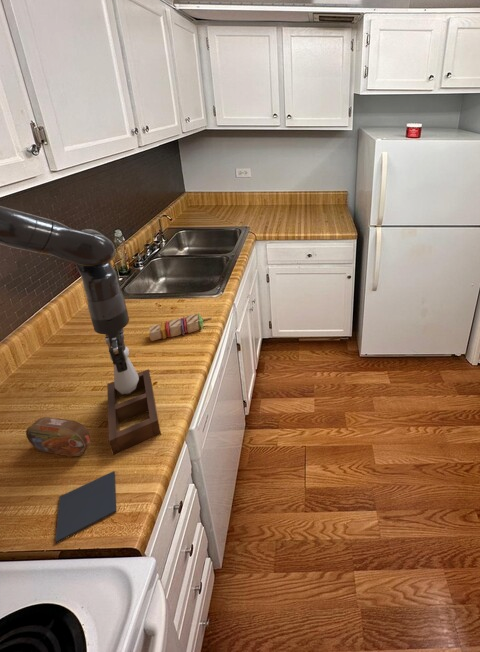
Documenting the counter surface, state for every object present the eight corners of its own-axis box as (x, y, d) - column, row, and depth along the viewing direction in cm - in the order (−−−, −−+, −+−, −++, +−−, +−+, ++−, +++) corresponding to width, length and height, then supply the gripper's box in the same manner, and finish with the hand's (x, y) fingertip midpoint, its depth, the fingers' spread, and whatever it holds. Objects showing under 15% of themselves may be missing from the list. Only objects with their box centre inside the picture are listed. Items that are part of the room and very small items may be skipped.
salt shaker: (128, 377, 93) (119, 340, 88) (145, 382, 91) (136, 344, 87) (110, 393, 88) (100, 354, 83) (128, 399, 86) (117, 360, 81)
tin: (30, 450, 79) (19, 425, 76) (42, 437, 82) (32, 413, 79) (87, 459, 77) (78, 434, 74) (97, 446, 80) (88, 421, 77)
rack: (113, 455, 78) (108, 441, 76) (111, 397, 93) (107, 383, 91) (160, 434, 83) (157, 420, 81) (151, 382, 98) (148, 369, 96)
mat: (55, 543, 63) (55, 542, 62) (60, 498, 70) (59, 496, 70) (116, 512, 67) (115, 510, 67) (114, 472, 75) (114, 470, 74)
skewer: (151, 345, 113) (148, 333, 111) (151, 333, 118) (148, 322, 116) (213, 329, 121) (212, 317, 119) (210, 319, 126) (209, 308, 125)
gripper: (90, 299, 84) (105, 352, 90) (89, 330, 73) (106, 389, 79) (124, 291, 88) (136, 343, 94) (127, 320, 76) (141, 377, 83)
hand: (122, 364), depth 87 cm, fingers closed on salt shaker, 4 cm apart
